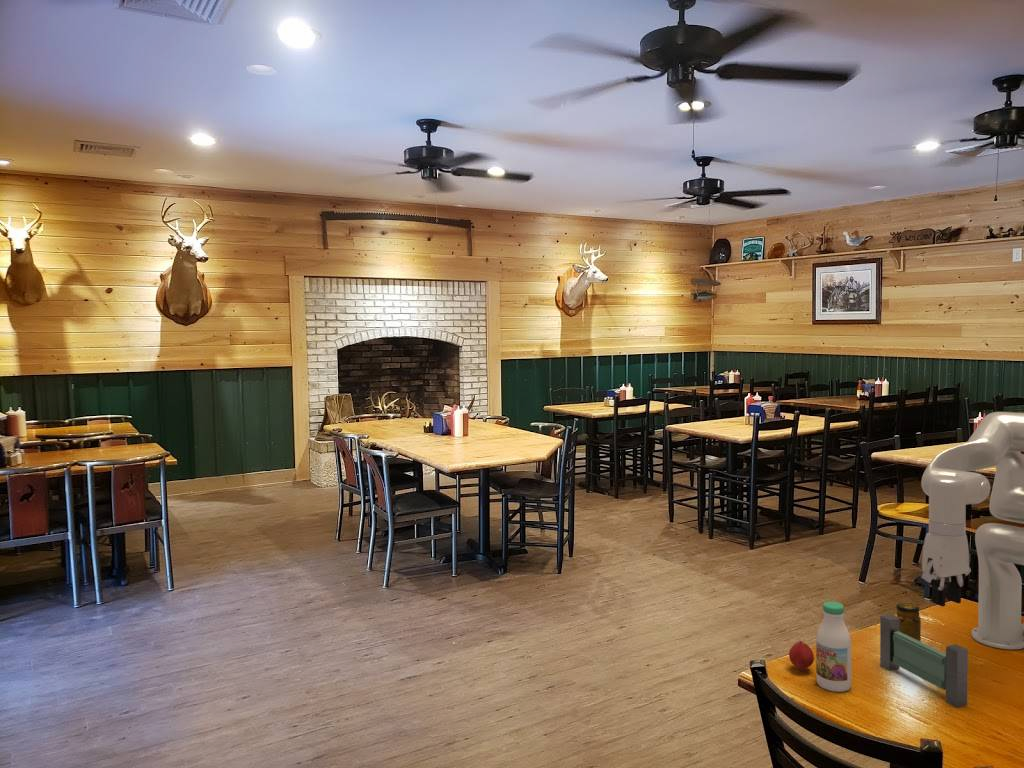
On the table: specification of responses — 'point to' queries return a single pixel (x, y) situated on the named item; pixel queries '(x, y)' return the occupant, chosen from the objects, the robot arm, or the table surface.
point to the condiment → (909, 620)
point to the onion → (801, 655)
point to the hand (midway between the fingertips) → (946, 602)
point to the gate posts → (954, 661)
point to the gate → (920, 659)
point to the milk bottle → (833, 650)
